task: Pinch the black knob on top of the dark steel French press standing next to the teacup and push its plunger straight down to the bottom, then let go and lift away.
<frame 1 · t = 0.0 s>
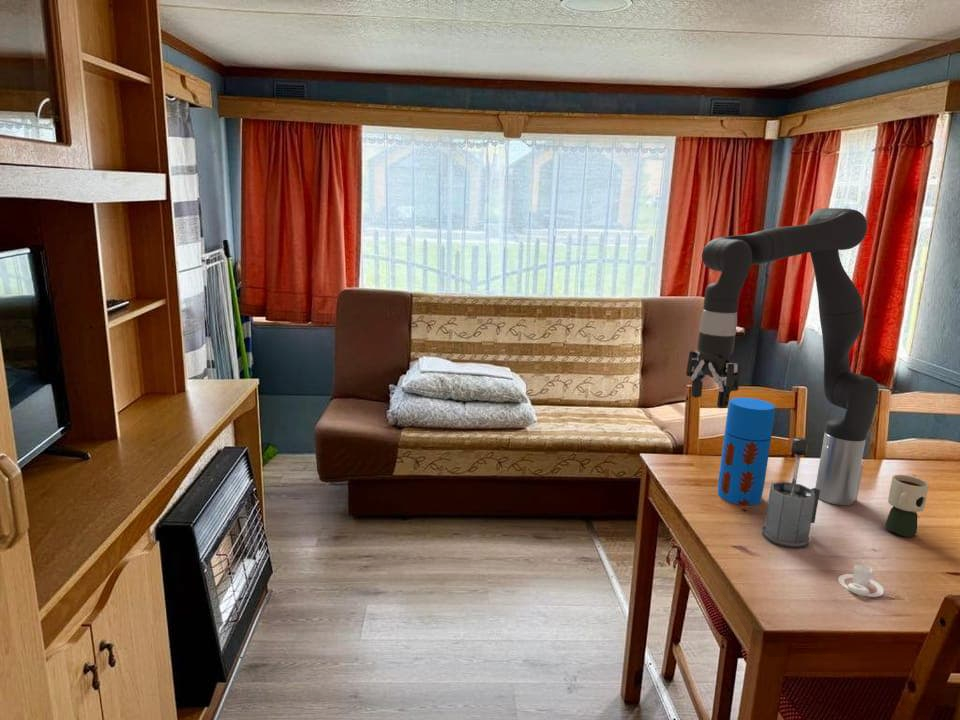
hand: (708, 402, 148), 29 cm above the table, fingers open, 8 cm apart
teacup and saucer: (843, 586, 131), on the table
character mug: (899, 533, 154), on the table
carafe: (785, 538, 149), on the table
plunger: (795, 470, 145), point 16 cm above the table, slide at 0.0 cm
thermos: (738, 497, 170), on the table
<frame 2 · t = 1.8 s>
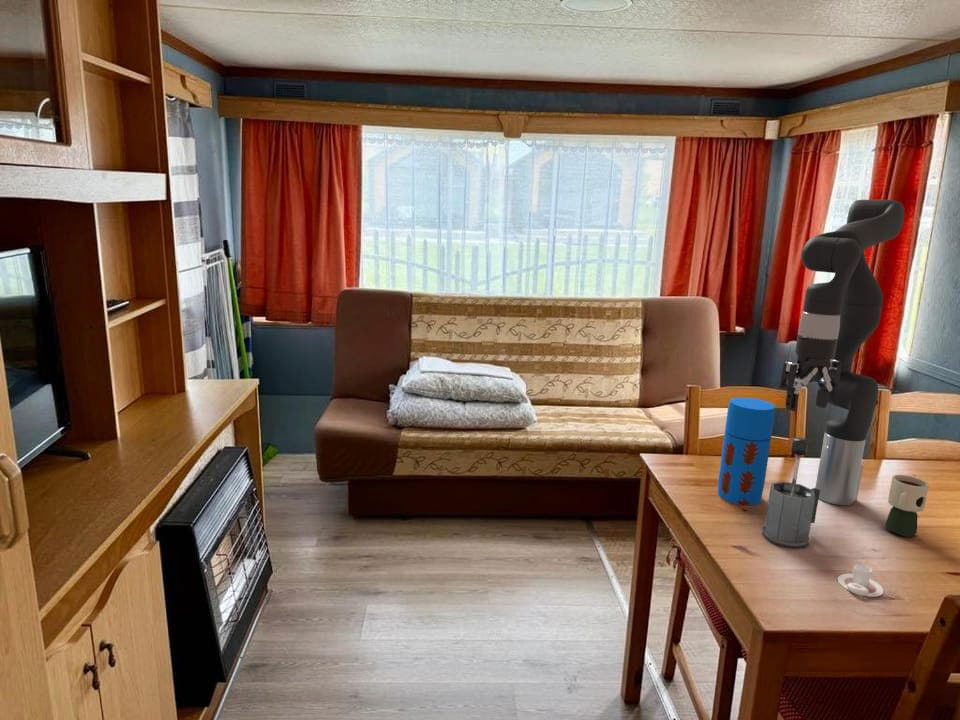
hand: (805, 408, 142), 31 cm above the table, fingers open, 8 cm apart
nothing on the table moved.
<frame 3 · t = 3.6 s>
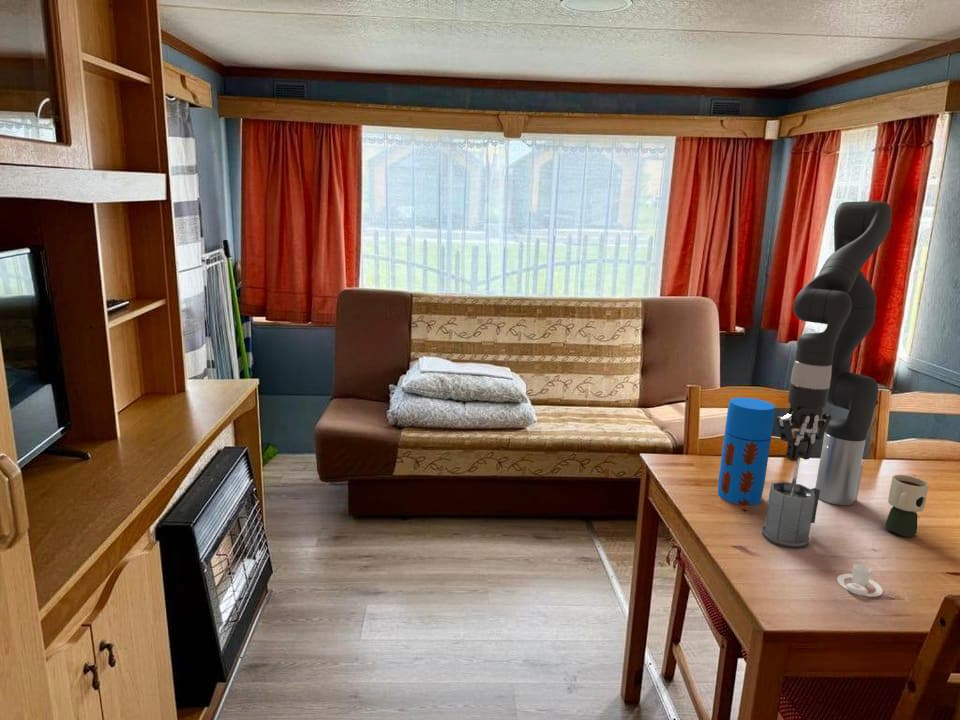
hand: (797, 458, 144), 19 cm above the table, fingers closed on plunger, 3 cm apart
plunger: (795, 471, 145), point 16 cm above the table, slide at 0.0 cm, touching gripper
everything else where it was.
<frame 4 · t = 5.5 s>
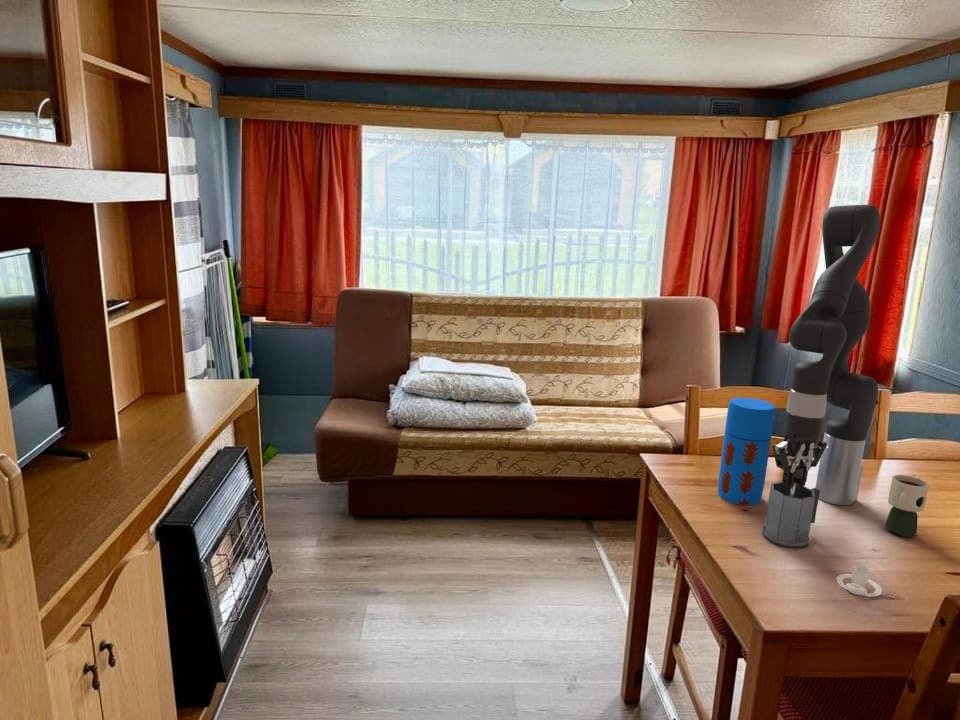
hand: (793, 485, 146), 13 cm above the table, fingers closed on plunger, 3 cm apart
plunger: (791, 497, 146), point 10 cm above the table, slide at 6.3 cm, touching gripper
everything else where it was.
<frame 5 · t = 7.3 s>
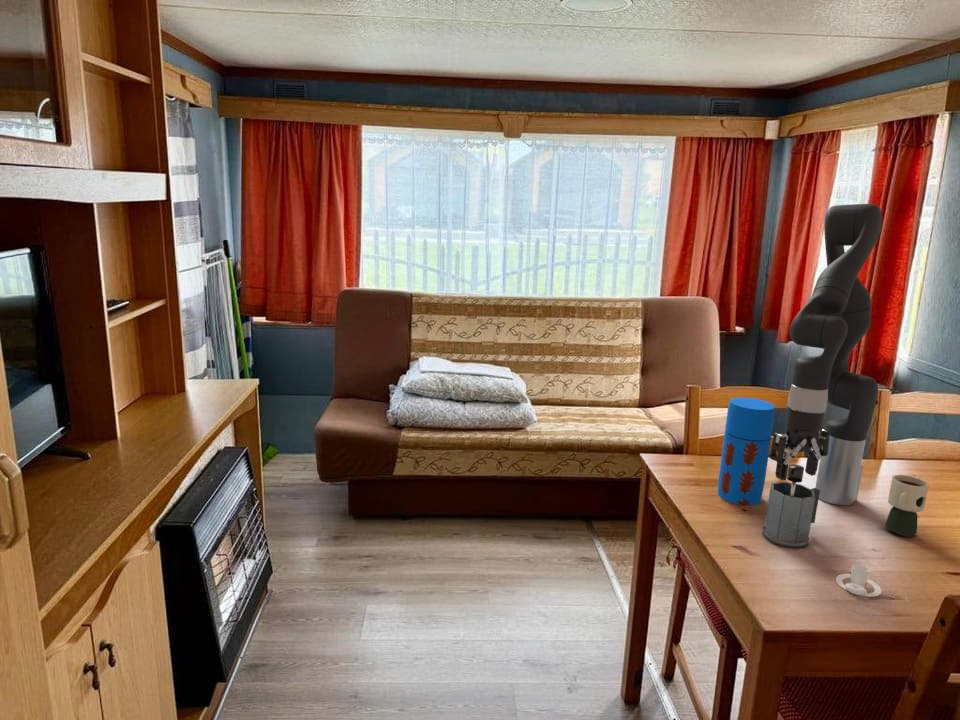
hand: (795, 476, 145), 15 cm above the table, fingers open, 8 cm apart
plunger: (791, 497, 146), point 10 cm above the table, slide at 6.3 cm
everything else where it was.
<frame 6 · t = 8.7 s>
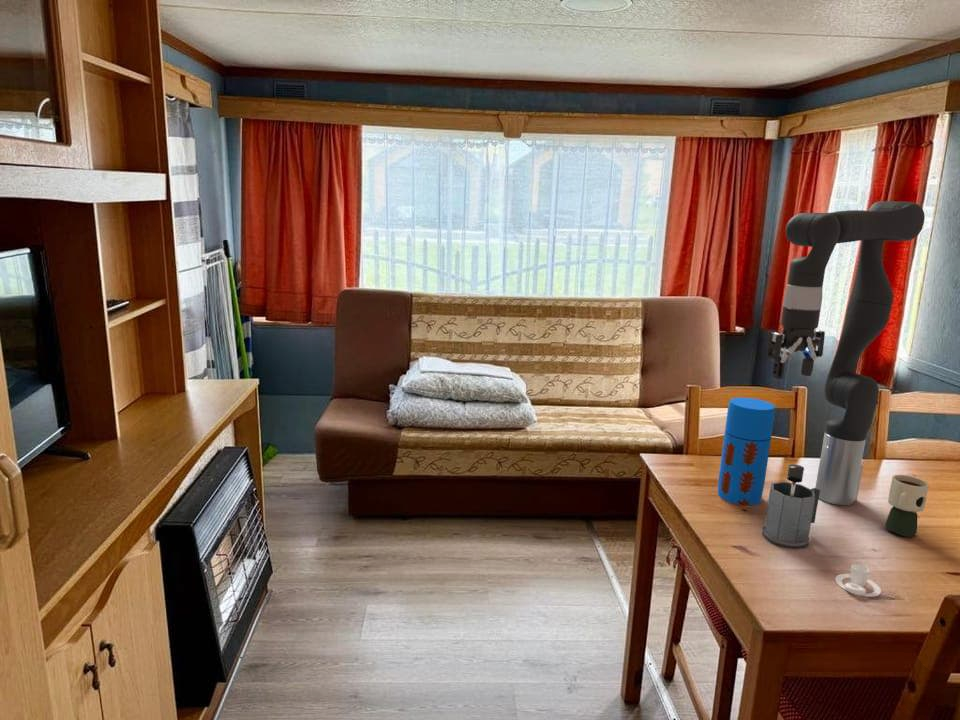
hand: (791, 376, 149), 35 cm above the table, fingers open, 8 cm apart
nothing on the table moved.
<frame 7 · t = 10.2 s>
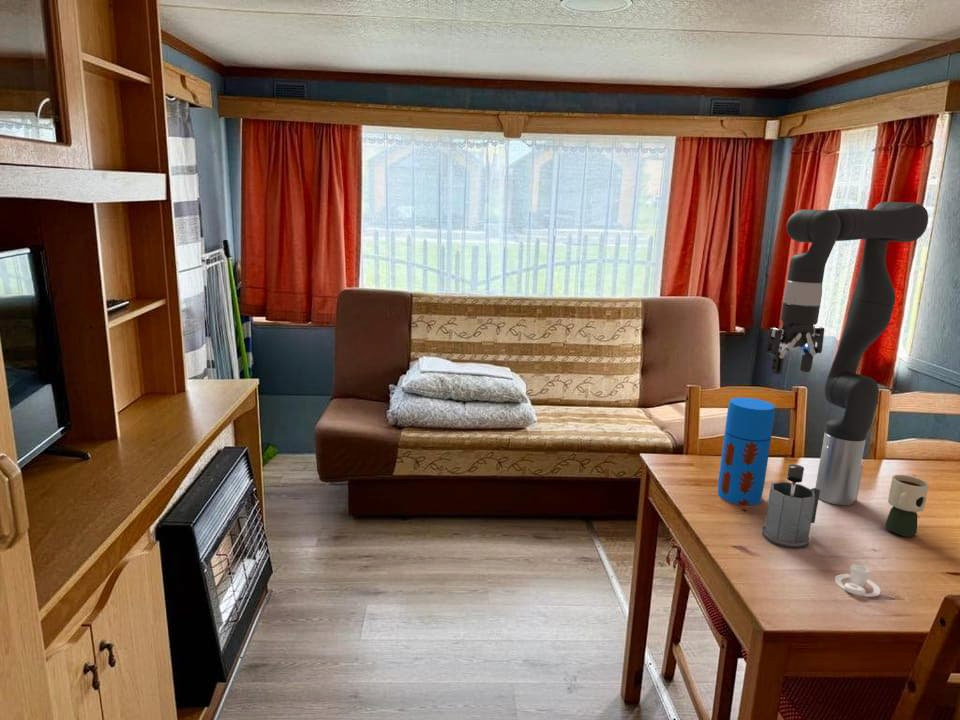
hand: (790, 372, 150), 36 cm above the table, fingers open, 8 cm apart
nothing on the table moved.
at the end: plunger slide at 6.3 cm; the gripper is holding nothing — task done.
